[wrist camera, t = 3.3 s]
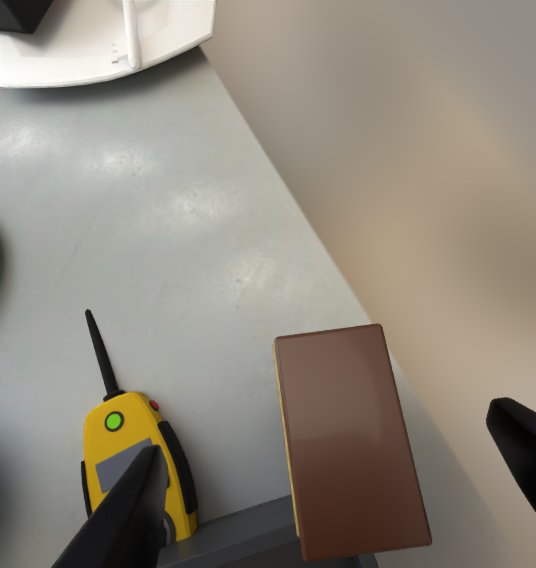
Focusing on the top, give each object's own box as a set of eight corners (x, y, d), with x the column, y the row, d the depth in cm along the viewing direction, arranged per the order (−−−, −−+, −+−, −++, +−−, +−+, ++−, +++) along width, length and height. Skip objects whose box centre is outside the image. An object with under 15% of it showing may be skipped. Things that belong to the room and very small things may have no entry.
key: (94, -53, 26) (149, -57, 26) (99, -38, 27) (153, -42, 27) (101, 64, 22) (165, 58, 23) (107, 77, 23) (168, 70, 24)
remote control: (106, 631, 14) (36, 319, 19) (126, 607, 16) (57, 328, 21) (214, 569, 15) (117, 283, 20) (221, 553, 16) (130, 295, 22)
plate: (245, 69, 26) (242, 44, 24) (-8, 131, 25) (-32, 110, 23) (192, -78, 32) (187, -107, 30) (-14, -33, 31) (-33, -60, 29)
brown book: (351, 463, 12) (439, 550, 6) (289, 472, 12) (301, 569, 6) (331, 356, 14) (384, 319, 7) (275, 364, 14) (271, 334, 7)
